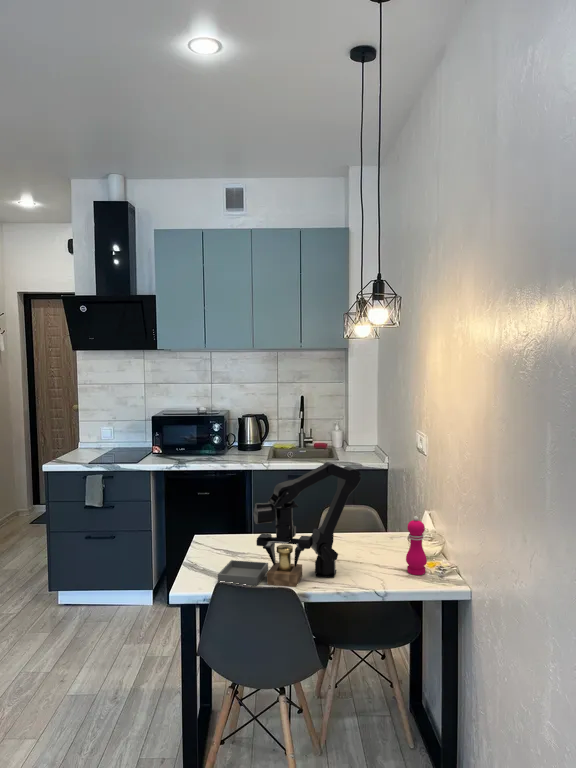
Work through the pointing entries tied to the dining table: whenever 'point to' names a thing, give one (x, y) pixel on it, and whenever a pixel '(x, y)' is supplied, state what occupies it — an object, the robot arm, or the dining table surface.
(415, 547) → the pepper mill
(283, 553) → the brass pin
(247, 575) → the charcoal tray
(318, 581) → the dining table surface
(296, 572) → the walnut block
